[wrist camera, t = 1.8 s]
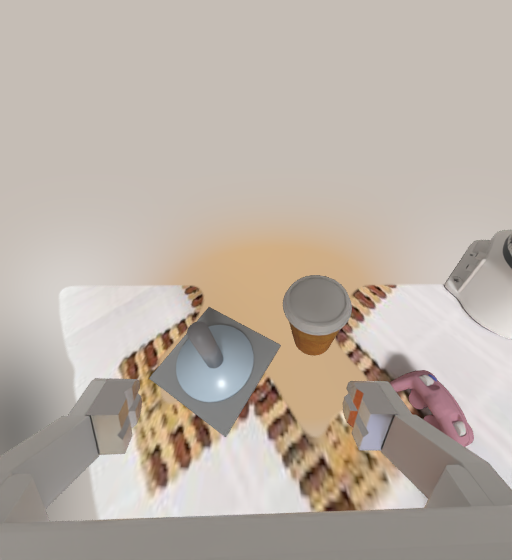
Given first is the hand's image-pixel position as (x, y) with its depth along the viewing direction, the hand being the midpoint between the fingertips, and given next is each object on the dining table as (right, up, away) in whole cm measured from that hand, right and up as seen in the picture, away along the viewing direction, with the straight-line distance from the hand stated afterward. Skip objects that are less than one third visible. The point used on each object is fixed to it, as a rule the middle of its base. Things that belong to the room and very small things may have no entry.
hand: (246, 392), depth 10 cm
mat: (-6, -10, +35) cm, 36 cm away
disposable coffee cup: (+10, -6, +36) cm, 37 cm away
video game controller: (+23, -15, +27) cm, 38 cm away
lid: (-6, -9, +34) cm, 36 cm away
